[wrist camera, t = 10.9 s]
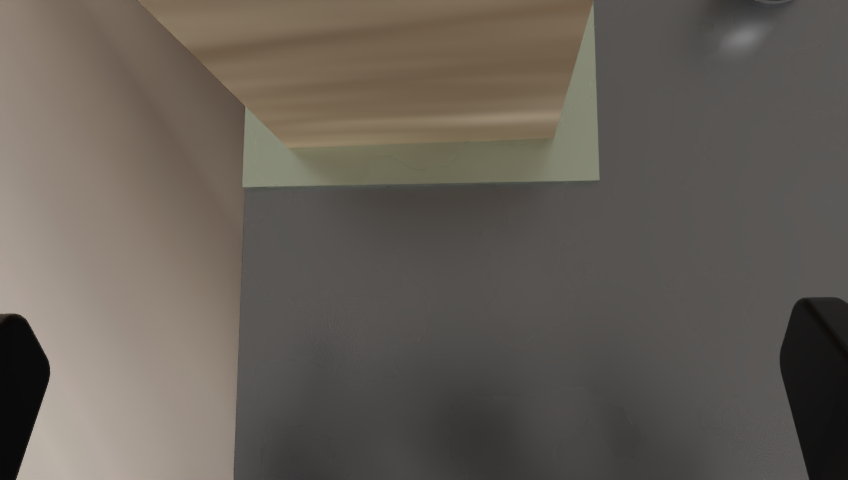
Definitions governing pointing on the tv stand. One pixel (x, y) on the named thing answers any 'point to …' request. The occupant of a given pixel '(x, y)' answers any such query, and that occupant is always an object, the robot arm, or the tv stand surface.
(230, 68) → the sleeve
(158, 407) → the tv stand surface
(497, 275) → the peg plate
